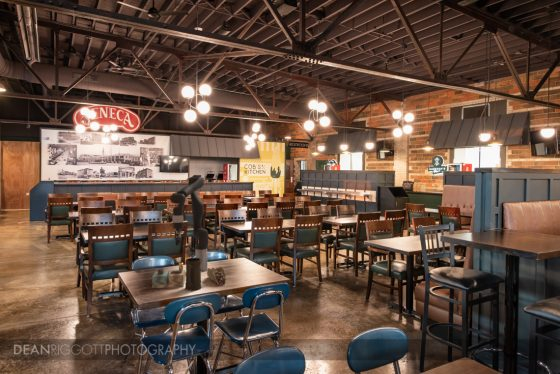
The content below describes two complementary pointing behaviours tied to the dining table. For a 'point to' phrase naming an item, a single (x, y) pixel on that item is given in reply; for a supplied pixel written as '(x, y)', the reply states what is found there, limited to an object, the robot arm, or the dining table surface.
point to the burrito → (217, 275)
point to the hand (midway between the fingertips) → (178, 244)
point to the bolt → (179, 268)
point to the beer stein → (193, 274)
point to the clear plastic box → (168, 279)
